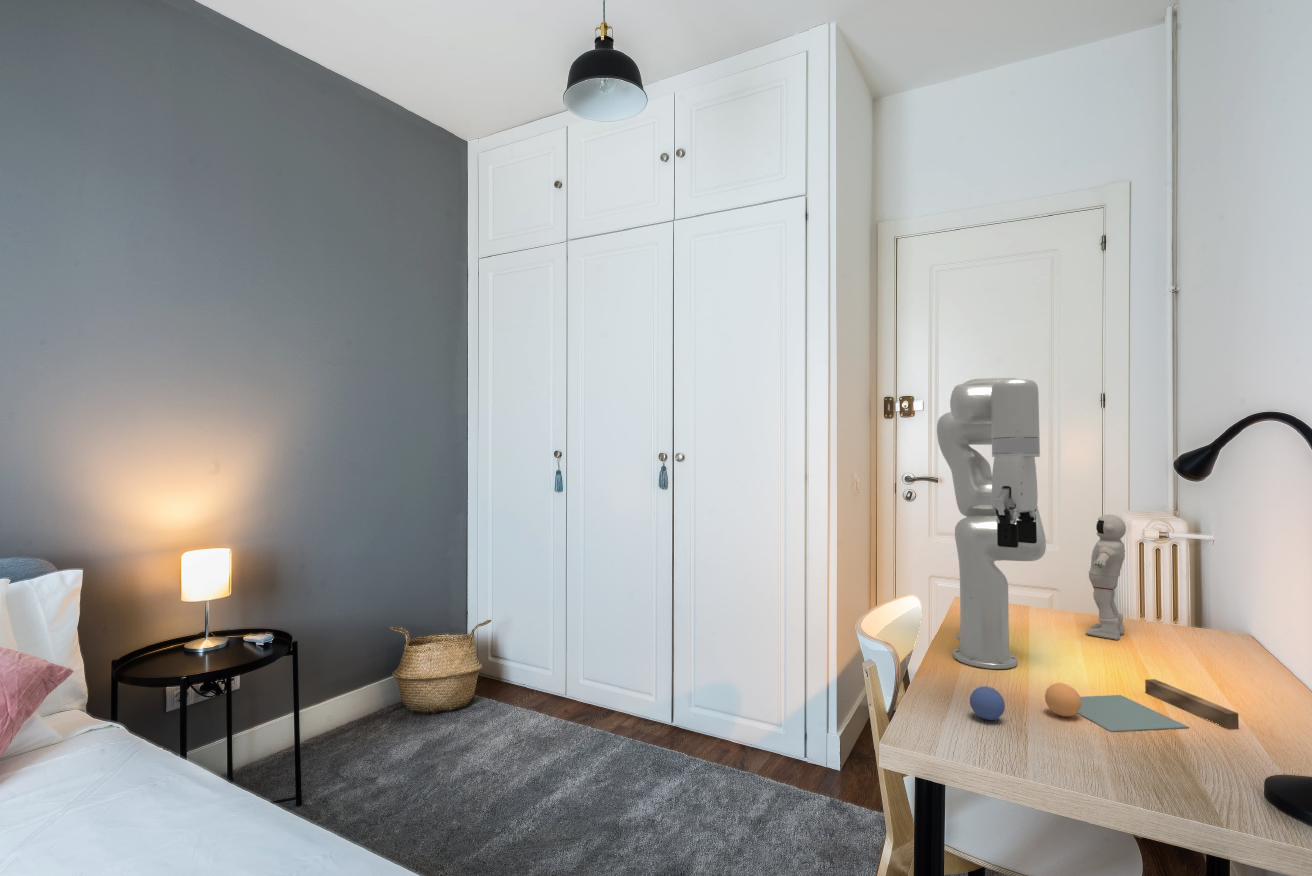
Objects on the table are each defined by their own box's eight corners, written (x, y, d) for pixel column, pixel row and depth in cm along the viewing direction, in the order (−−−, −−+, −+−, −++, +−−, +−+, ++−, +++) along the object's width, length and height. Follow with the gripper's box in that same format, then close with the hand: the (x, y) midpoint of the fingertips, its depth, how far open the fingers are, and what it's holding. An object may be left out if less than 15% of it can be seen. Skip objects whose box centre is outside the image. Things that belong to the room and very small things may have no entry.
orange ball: (1038, 709, 115) (1037, 679, 115) (1066, 708, 116) (1065, 678, 116) (1059, 722, 110) (1059, 690, 110) (1089, 721, 110) (1088, 689, 110)
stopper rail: (1145, 692, 123) (1145, 679, 123) (1155, 692, 123) (1154, 679, 123) (1227, 729, 107) (1227, 713, 107) (1238, 728, 107) (1238, 713, 107)
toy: (1099, 620, 174) (1098, 509, 175) (1137, 626, 169) (1135, 511, 169) (1074, 644, 153) (1073, 517, 154) (1116, 651, 148) (1114, 520, 148)
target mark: (1050, 699, 120) (1050, 698, 120) (1120, 696, 121) (1120, 694, 121) (1111, 732, 106) (1111, 730, 106) (1189, 728, 107) (1189, 726, 107)
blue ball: (963, 713, 114) (963, 682, 114) (992, 711, 114) (992, 681, 114) (981, 726, 108) (981, 693, 108) (1012, 724, 109) (1011, 692, 109)
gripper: (1009, 450, 124) (1011, 539, 124) (974, 448, 113) (976, 546, 112) (1053, 449, 119) (1056, 543, 118) (1022, 447, 107) (1024, 550, 106)
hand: (1017, 544), depth 115 cm, fingers open, 9 cm apart
